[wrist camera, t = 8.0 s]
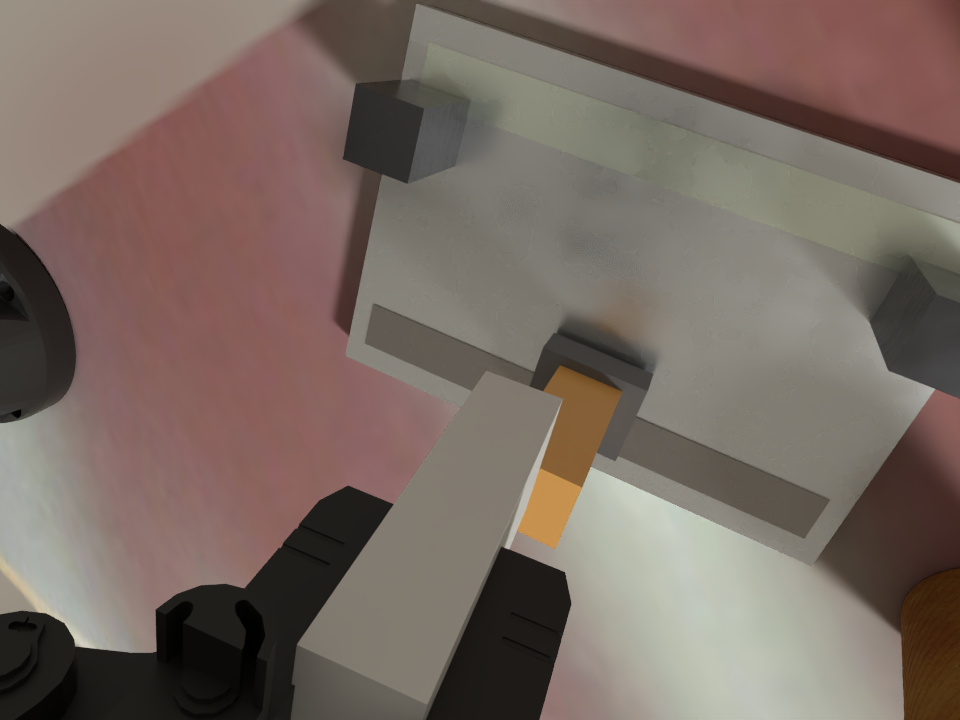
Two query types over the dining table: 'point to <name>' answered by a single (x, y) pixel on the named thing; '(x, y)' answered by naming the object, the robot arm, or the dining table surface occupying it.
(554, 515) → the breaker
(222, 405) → the dining table surface
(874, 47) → the dining table surface
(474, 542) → the robot arm
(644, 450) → the tray
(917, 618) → the disposable coffee cup
